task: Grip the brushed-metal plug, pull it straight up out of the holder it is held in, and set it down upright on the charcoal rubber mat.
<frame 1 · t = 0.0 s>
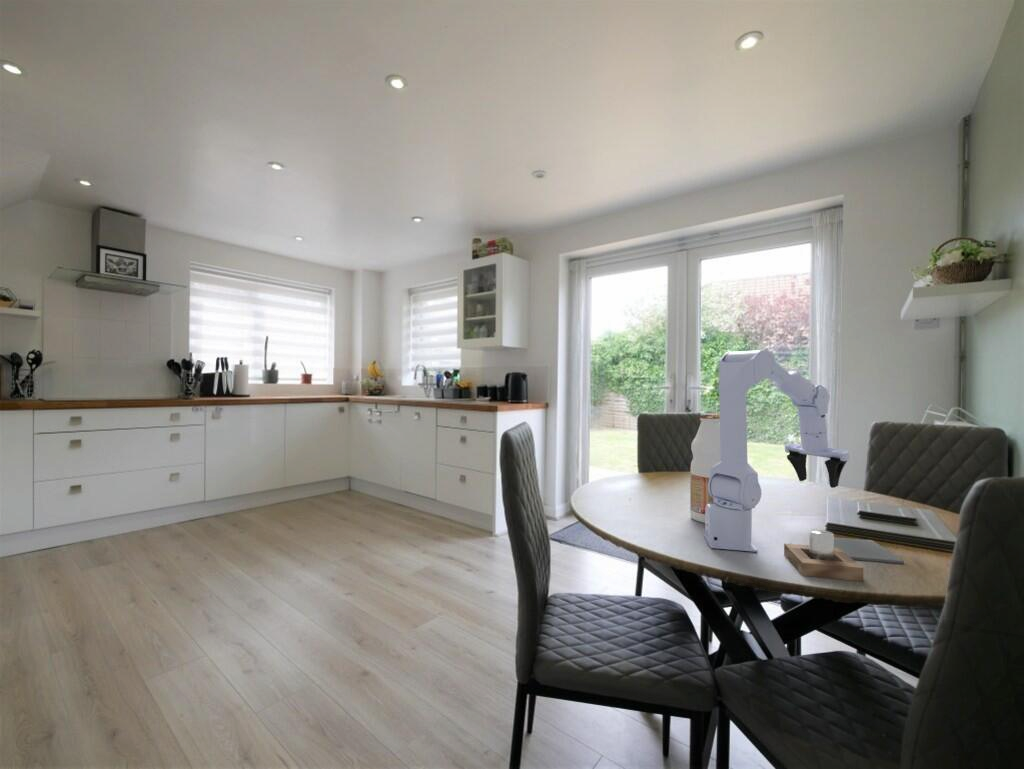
hand: (818, 483, 115), 11 cm above the table, tool pointing down, fingers open, 7 cm apart
plug: (821, 550, 89), in the holder
mat: (854, 549, 98), on the table
fruit juice: (709, 520, 119), on the table
holder: (820, 567, 89), on the table
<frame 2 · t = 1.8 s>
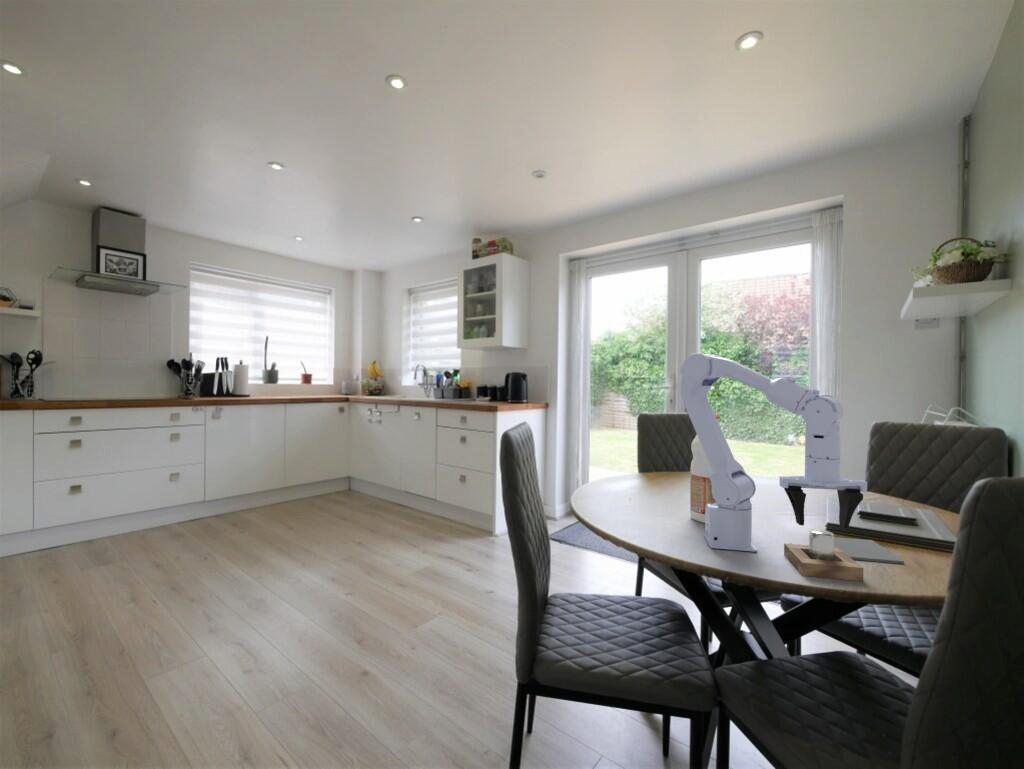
hand: (821, 525, 89), 8 cm above the table, tool pointing down, fingers open, 7 cm apart
nothing on the table moved.
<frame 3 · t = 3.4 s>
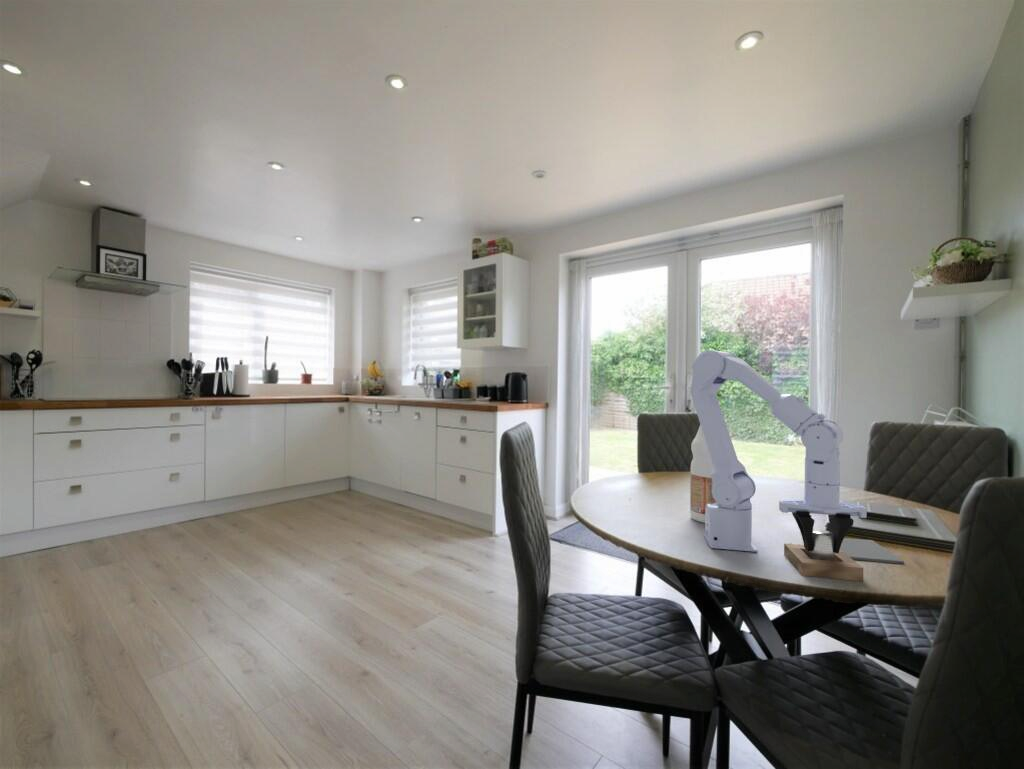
hand: (821, 550, 89), 3 cm above the table, tool pointing down, fingers closed on plug, 4 cm apart
plug: (821, 550, 89), in the holder, touching gripper
everything else where it was.
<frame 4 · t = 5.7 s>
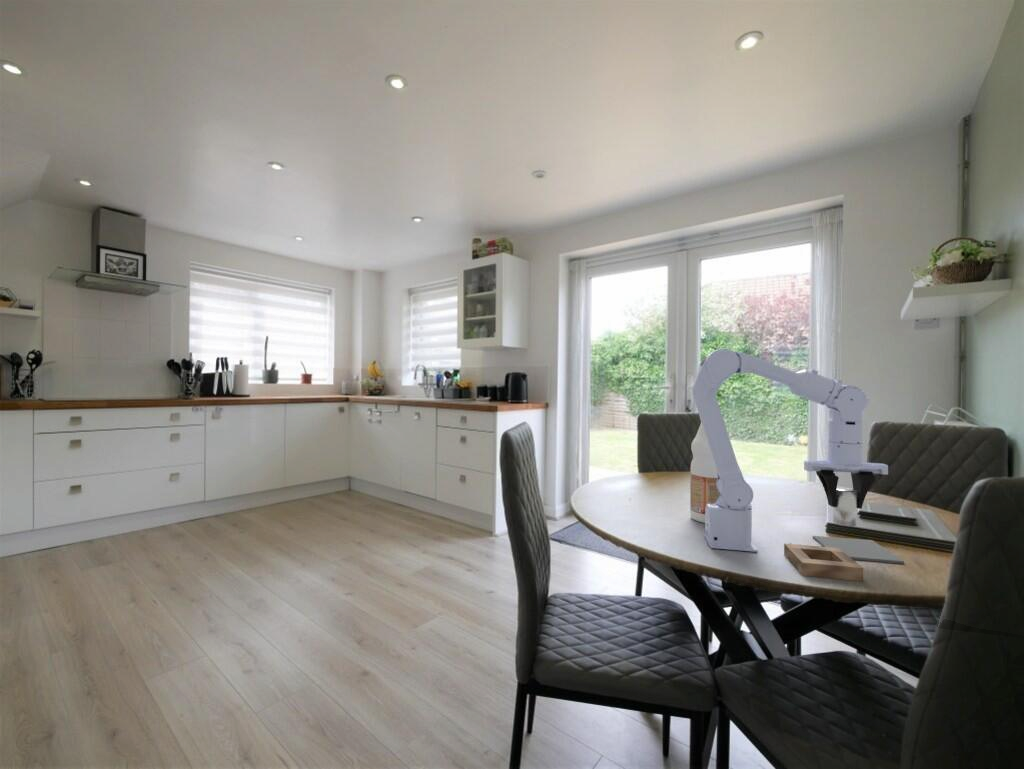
hand: (844, 506, 94), 10 cm above the table, tool pointing down, fingers closed on plug, 4 cm apart
plug: (845, 506, 94), point 10 cm above the table, touching gripper
everything else where it was.
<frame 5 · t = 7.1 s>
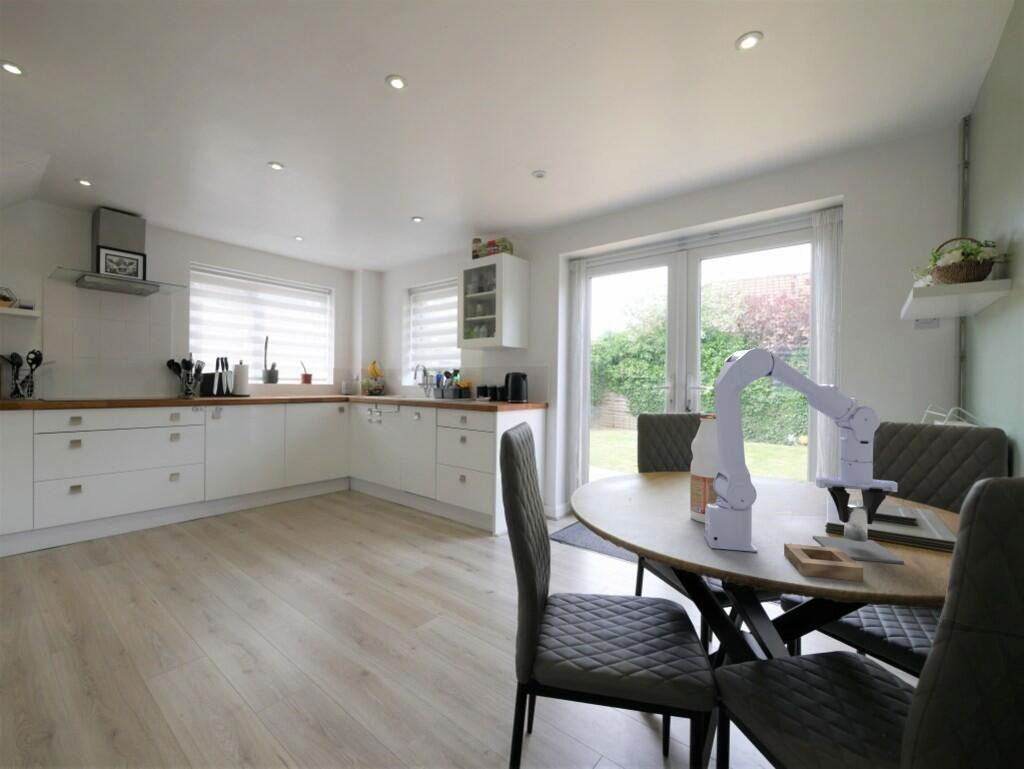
hand: (855, 522, 98), 6 cm above the table, tool pointing down, fingers closed on plug, 4 cm apart
plug: (856, 522, 97), point 6 cm above the table, touching gripper
everything else where it was.
when the fingers open (5 cm above the table, at t = 8.2 s): plug stays where it is, resting on mat.
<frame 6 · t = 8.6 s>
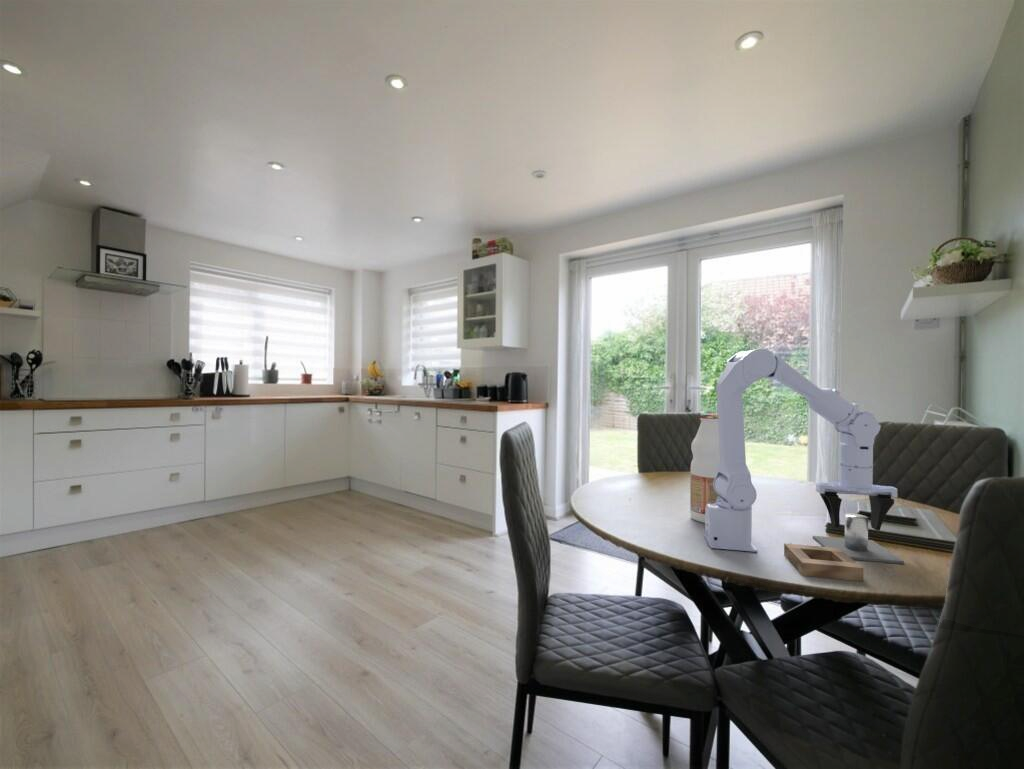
hand: (855, 527, 98), 5 cm above the table, tool pointing down, fingers open, 7 cm apart
plug: (856, 532, 97), on the mat
everything else where it was.
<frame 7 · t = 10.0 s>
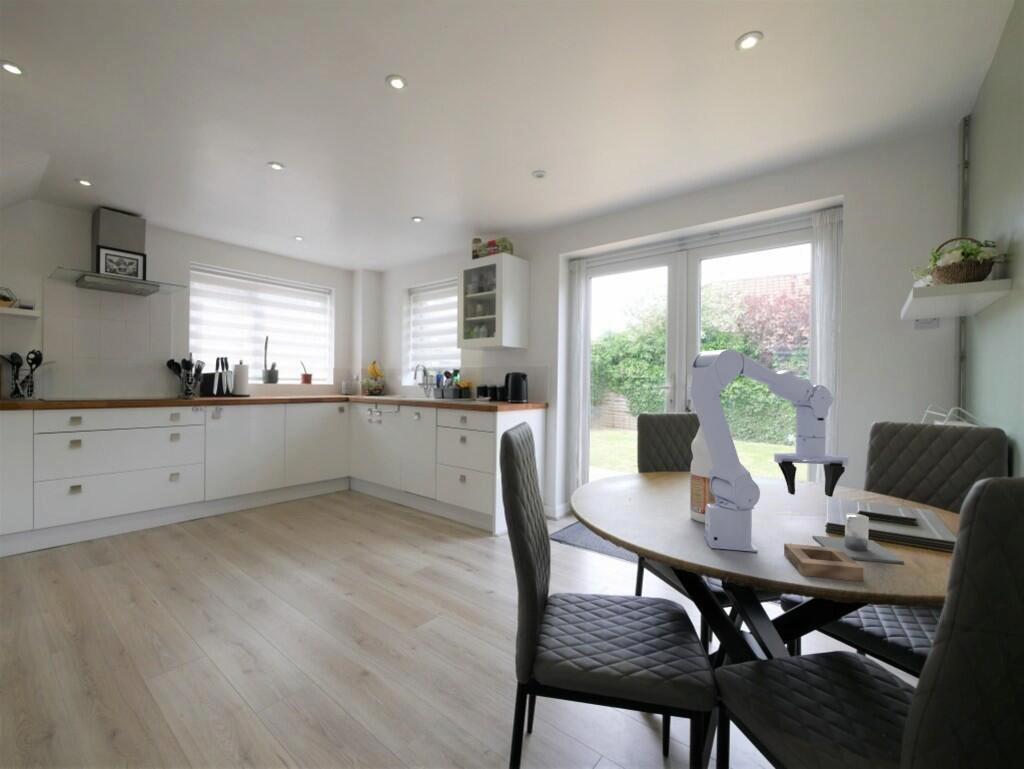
hand: (809, 494, 104), 10 cm above the table, tool pointing down, fingers open, 7 cm apart
nothing on the table moved.
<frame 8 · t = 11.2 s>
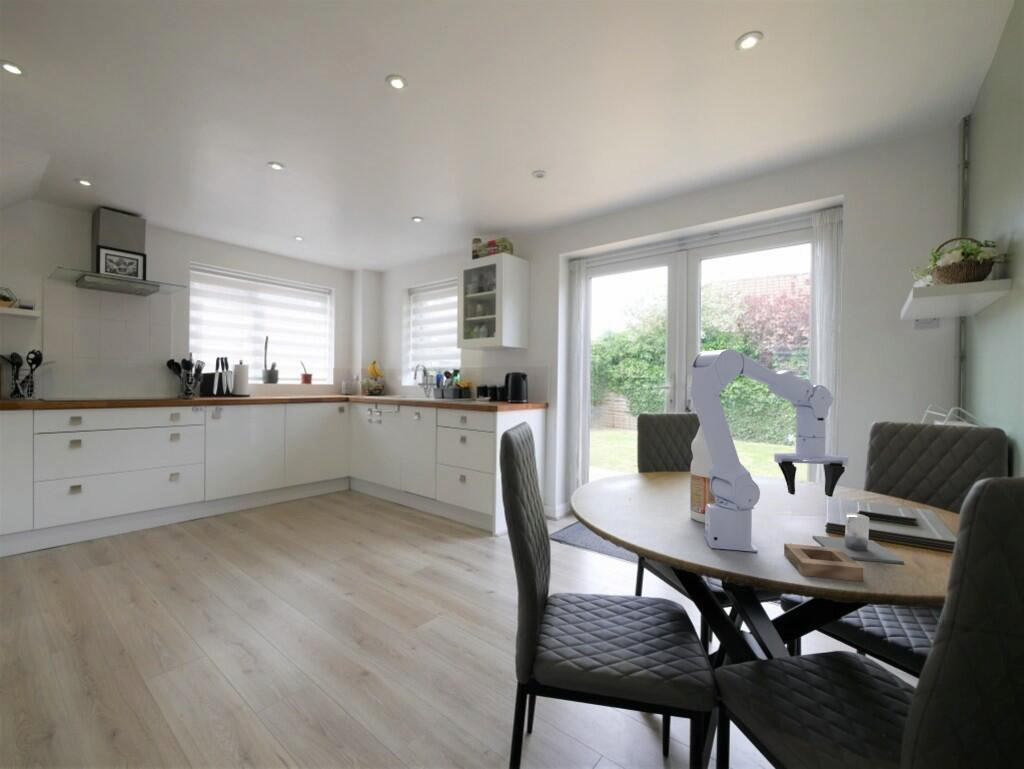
hand: (809, 494, 104), 10 cm above the table, tool pointing down, fingers open, 7 cm apart
nothing on the table moved.
at the end: plug inside the target area on the mat (0.3 cm from its centre), point 4.1 cm above the mat's base; plug tilted 2°; the gripper is holding nothing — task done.
